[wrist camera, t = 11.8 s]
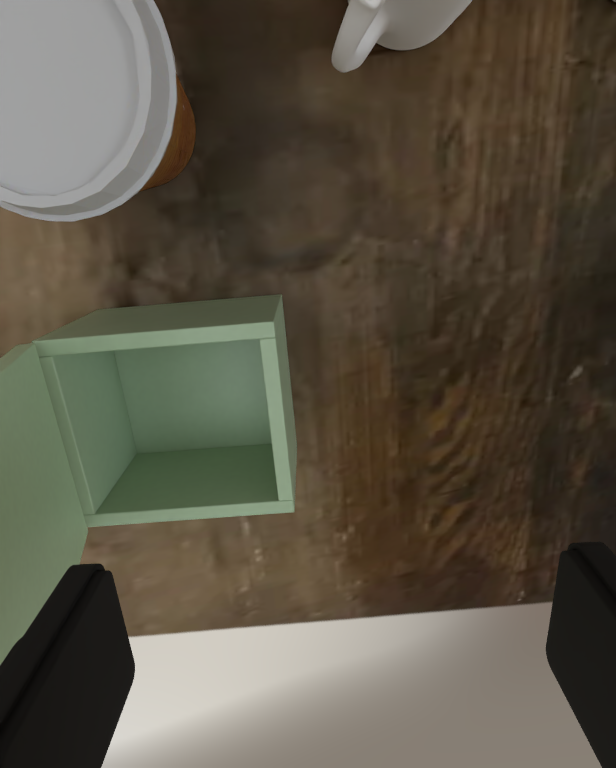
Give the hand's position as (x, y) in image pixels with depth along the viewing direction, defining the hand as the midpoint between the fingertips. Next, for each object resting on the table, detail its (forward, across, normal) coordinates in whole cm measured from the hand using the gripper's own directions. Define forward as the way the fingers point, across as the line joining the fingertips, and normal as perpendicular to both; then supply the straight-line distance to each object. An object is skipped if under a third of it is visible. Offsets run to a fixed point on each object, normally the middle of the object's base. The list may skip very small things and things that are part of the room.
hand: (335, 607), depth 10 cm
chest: (+22, +8, +3) cm, 23 cm away
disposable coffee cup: (+22, +9, -12) cm, 27 cm away
